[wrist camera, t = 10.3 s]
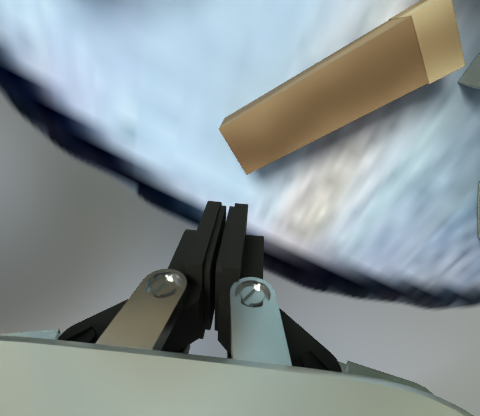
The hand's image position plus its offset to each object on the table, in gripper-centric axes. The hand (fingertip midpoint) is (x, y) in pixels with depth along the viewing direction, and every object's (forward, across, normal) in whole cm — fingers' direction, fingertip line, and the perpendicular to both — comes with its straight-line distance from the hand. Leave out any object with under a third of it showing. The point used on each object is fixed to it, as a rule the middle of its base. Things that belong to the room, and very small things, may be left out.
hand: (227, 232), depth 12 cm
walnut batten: (+14, -5, -4) cm, 15 cm away
